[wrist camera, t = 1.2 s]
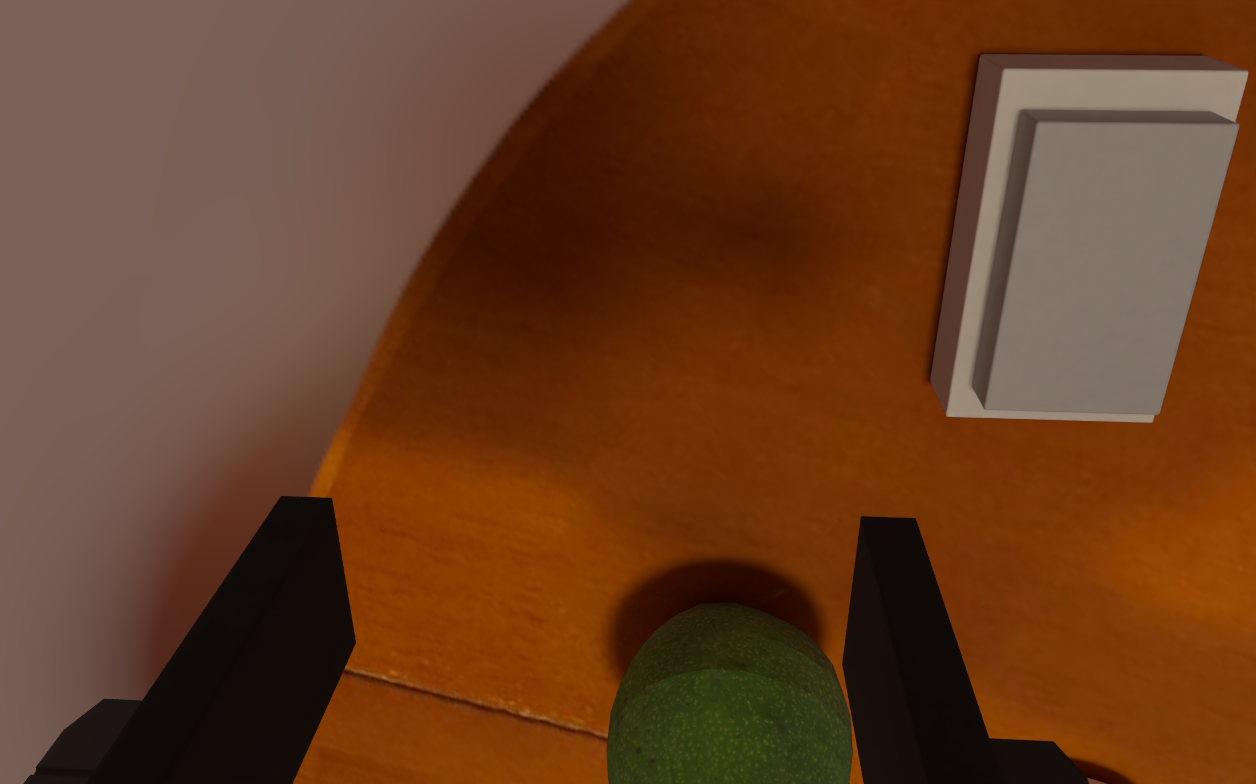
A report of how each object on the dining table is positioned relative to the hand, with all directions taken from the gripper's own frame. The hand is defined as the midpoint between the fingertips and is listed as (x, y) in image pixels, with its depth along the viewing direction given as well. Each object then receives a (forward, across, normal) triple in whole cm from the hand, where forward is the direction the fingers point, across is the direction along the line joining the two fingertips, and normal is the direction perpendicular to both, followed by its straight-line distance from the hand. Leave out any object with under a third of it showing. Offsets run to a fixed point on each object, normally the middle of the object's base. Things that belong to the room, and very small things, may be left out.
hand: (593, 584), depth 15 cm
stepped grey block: (+17, +12, 0) cm, 21 cm away
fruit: (+17, +3, -16) cm, 24 cm away
